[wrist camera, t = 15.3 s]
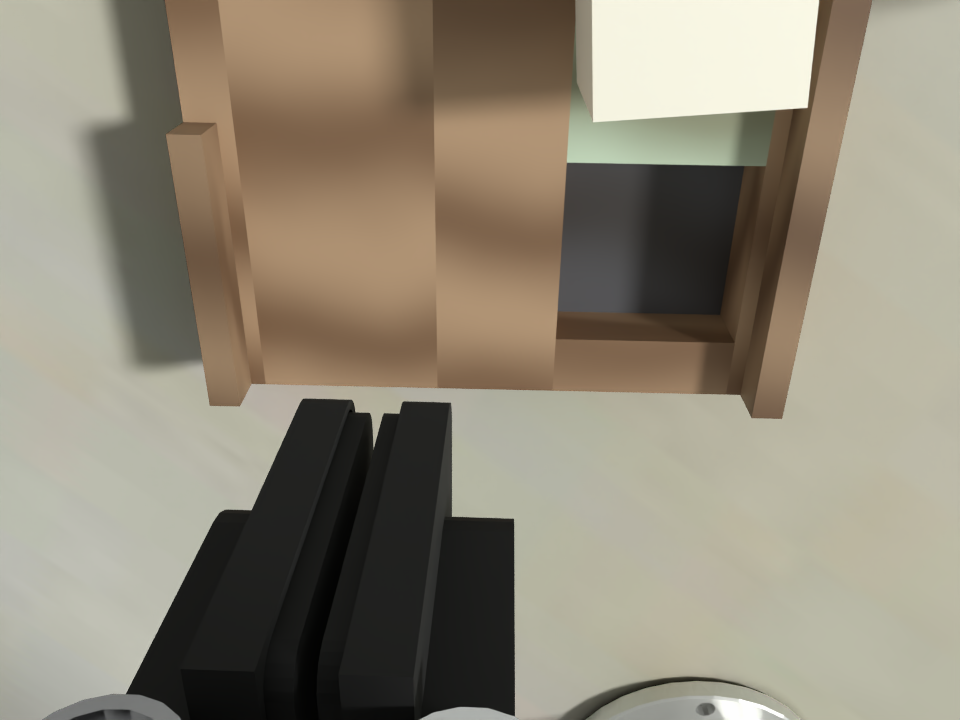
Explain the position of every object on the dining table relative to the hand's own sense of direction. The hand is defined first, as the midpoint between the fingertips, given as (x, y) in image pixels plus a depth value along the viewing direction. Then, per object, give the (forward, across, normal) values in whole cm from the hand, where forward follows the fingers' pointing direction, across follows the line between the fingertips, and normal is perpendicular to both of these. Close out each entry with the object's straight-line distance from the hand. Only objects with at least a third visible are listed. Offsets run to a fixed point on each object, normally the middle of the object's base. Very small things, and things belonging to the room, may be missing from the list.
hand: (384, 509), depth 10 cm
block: (+18, -6, -5) cm, 19 cm away
